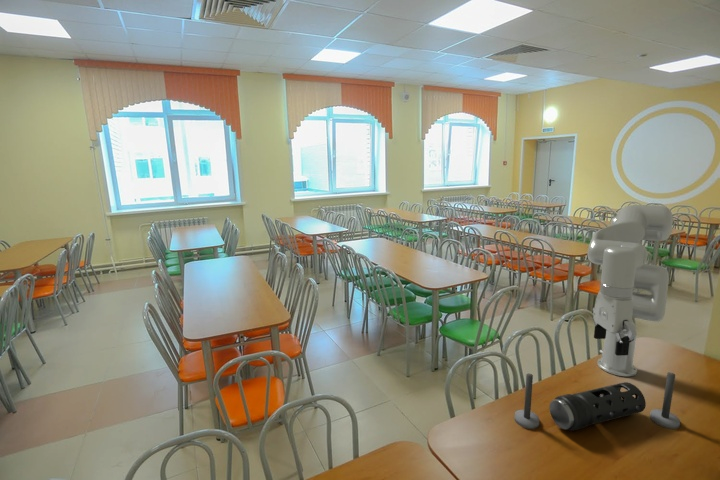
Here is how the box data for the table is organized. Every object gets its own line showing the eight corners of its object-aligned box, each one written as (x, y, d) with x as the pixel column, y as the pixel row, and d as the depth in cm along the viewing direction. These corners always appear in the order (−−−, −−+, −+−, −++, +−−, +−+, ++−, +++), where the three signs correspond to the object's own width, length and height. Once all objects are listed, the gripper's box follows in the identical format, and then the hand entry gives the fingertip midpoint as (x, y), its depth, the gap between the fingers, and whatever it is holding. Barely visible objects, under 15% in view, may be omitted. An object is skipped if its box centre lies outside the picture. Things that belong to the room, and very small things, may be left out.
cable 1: (511, 413, 116) (513, 369, 113) (533, 413, 116) (536, 368, 113) (519, 429, 109) (522, 381, 106) (543, 429, 109) (546, 381, 106)
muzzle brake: (644, 422, 111) (648, 392, 109) (570, 442, 104) (573, 410, 102) (615, 403, 120) (619, 375, 118) (546, 420, 113) (548, 391, 111)
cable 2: (644, 413, 114) (650, 367, 111) (667, 413, 114) (673, 367, 111) (661, 428, 108) (668, 380, 104) (685, 428, 107) (693, 380, 104)
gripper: (584, 281, 109) (579, 333, 112) (623, 302, 92) (616, 362, 96) (609, 280, 109) (604, 332, 112) (653, 301, 92) (645, 362, 95)
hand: (610, 346), depth 104 cm, fingers open, 9 cm apart
